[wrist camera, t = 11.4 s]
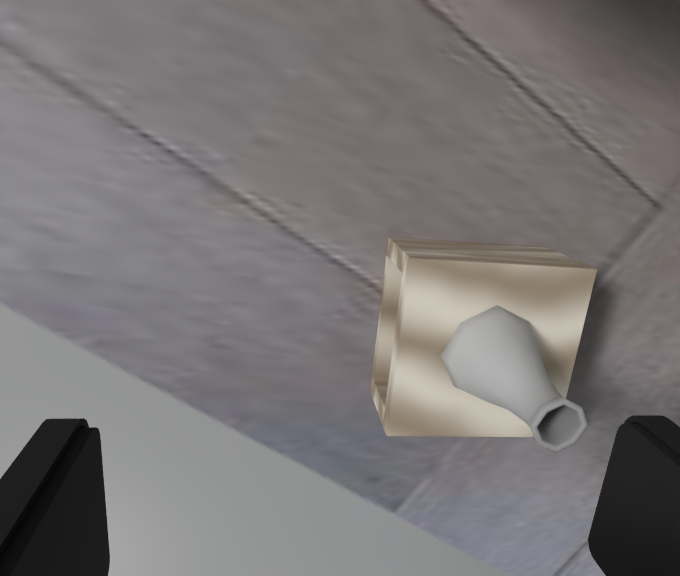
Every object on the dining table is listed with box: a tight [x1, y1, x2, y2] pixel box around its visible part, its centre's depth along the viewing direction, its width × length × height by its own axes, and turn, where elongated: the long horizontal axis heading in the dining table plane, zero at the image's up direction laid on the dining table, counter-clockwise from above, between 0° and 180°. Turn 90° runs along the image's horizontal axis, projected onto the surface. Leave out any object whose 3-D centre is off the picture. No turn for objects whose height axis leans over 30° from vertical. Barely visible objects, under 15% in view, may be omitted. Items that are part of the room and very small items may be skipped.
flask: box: [441, 305, 588, 453], centre depth 34 cm, size 7×7×10 cm
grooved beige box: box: [370, 237, 597, 437], centre depth 42 cm, size 14×14×7 cm
